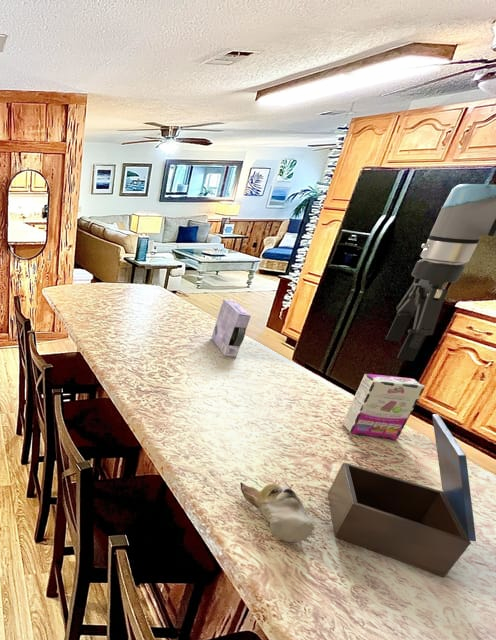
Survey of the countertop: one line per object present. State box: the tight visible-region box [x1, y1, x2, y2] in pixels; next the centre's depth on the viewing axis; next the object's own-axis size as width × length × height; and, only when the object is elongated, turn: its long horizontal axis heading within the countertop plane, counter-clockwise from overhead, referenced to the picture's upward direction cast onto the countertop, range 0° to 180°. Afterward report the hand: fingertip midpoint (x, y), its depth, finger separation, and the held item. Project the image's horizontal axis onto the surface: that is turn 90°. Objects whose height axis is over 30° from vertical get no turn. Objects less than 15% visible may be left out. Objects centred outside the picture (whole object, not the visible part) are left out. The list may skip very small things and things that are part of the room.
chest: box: [327, 461, 472, 578], centre depth 75 cm, size 16×14×9 cm
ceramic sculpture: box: [239, 481, 315, 543], centre depth 77 cm, size 11×9×15 cm
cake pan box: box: [210, 298, 251, 358], centre depth 152 cm, size 19×5×18 cm, turn 171°
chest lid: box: [431, 413, 477, 542], centre depth 67 cm, size 16×14×1 cm
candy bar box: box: [342, 373, 426, 440], centre depth 103 cm, size 11×5×16 cm, turn 76°
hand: (398, 349), depth 94 cm, fingers open, 13 cm apart
